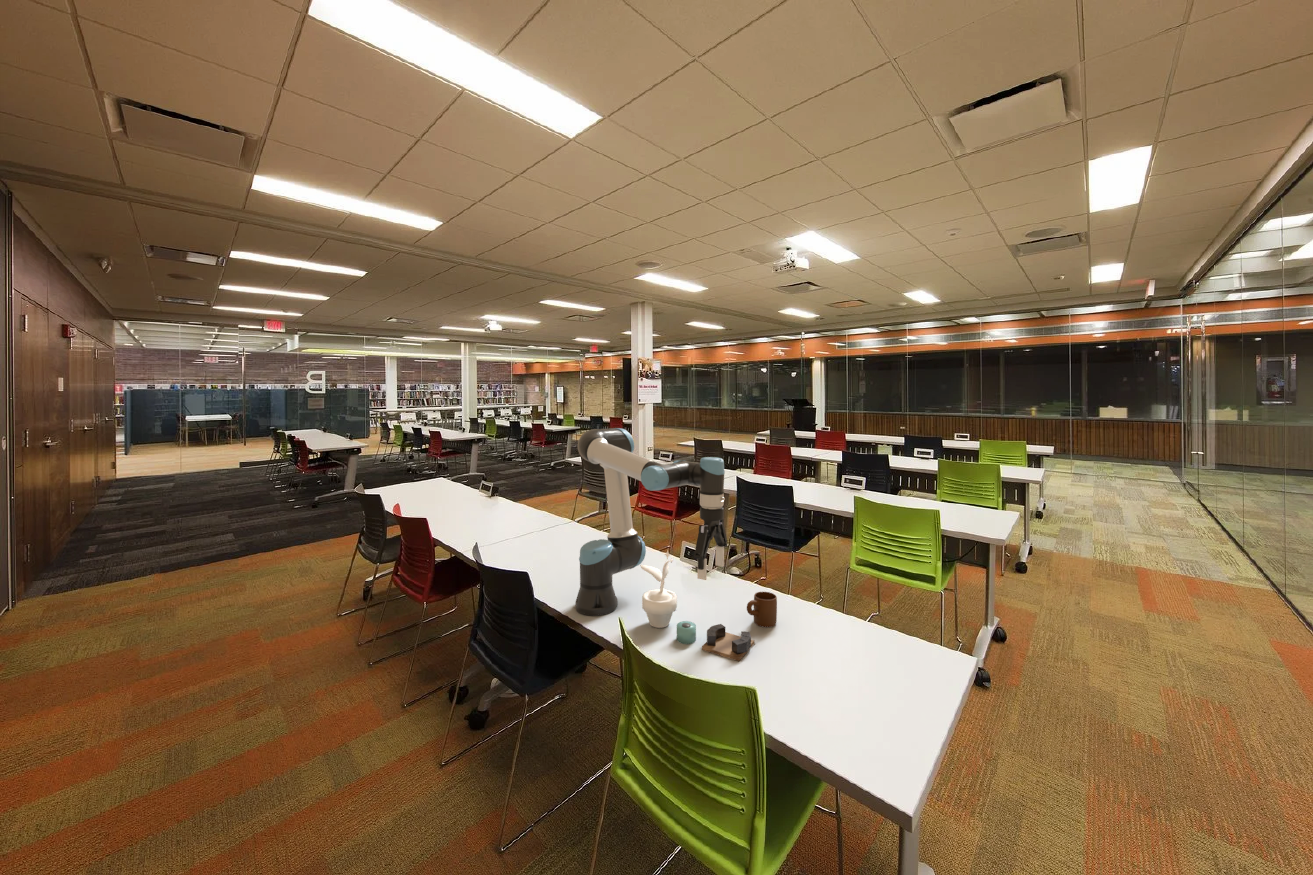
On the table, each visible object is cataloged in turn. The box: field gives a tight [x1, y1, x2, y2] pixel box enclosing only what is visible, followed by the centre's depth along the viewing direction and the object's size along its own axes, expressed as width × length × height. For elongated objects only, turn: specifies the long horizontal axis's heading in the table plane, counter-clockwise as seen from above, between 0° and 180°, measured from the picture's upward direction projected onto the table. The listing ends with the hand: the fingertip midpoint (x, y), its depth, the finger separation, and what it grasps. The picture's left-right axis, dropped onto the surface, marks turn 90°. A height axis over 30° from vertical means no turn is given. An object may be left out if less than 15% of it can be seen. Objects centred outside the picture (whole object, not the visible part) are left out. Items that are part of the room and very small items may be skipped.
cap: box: [676, 620, 697, 645], centre depth 148 cm, size 6×6×5 cm
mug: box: [746, 591, 778, 628], centre depth 157 cm, size 12×8×9 cm, turn 123°
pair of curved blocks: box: [706, 623, 752, 655], centre depth 143 cm, size 13×9×3 cm
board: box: [701, 631, 756, 662], centre depth 143 cm, size 12×12×1 cm
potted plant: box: [639, 549, 678, 629], centre depth 157 cm, size 13×12×25 cm
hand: (711, 572), depth 151 cm, fingers open, 13 cm apart
